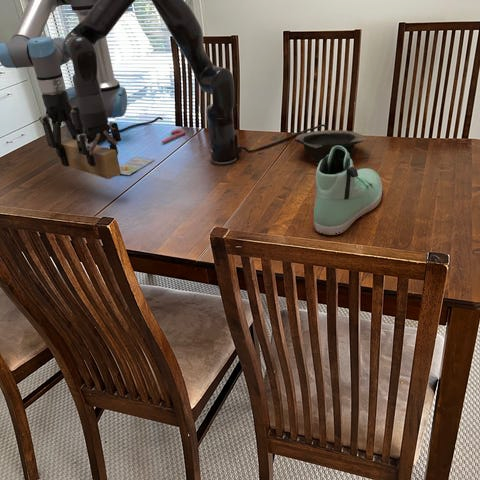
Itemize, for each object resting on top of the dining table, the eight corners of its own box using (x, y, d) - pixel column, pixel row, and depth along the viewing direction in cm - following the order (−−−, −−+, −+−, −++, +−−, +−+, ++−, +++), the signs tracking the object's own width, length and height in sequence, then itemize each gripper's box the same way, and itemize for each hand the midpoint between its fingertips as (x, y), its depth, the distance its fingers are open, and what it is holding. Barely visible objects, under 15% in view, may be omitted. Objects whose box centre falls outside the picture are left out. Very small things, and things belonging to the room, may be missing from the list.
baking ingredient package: (109, 171, 174) (134, 157, 185) (109, 172, 174) (134, 158, 185) (129, 174, 170) (153, 159, 182) (129, 175, 170) (153, 160, 182)
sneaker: (389, 187, 148) (396, 123, 138) (356, 242, 123) (361, 168, 112) (346, 181, 154) (350, 119, 144) (306, 232, 129) (307, 161, 118)
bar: (60, 164, 160) (53, 142, 156) (72, 159, 164) (66, 137, 159) (109, 179, 147) (103, 155, 143) (121, 173, 150) (116, 150, 146)
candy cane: (153, 142, 199) (153, 139, 199) (177, 131, 210) (176, 127, 209) (164, 144, 196) (163, 141, 196) (187, 133, 206) (187, 129, 206)
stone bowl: (322, 174, 159) (321, 147, 155) (282, 157, 179) (280, 133, 175) (380, 156, 168) (380, 130, 163) (336, 142, 188) (335, 118, 184)
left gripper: (35, 100, 139) (56, 174, 152) (85, 85, 151) (101, 155, 163) (20, 97, 144) (42, 169, 156) (70, 83, 155) (87, 151, 167)
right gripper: (80, 117, 133) (93, 171, 141) (119, 104, 142) (129, 155, 151) (63, 114, 137) (77, 166, 145) (103, 101, 146) (114, 151, 155)
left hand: (72, 162), depth 160 cm, fingers closed on bar, 5 cm apart
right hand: (104, 161), depth 148 cm, fingers open, 8 cm apart
